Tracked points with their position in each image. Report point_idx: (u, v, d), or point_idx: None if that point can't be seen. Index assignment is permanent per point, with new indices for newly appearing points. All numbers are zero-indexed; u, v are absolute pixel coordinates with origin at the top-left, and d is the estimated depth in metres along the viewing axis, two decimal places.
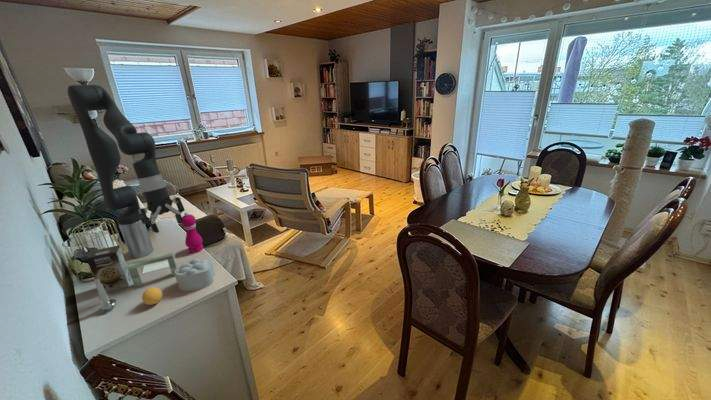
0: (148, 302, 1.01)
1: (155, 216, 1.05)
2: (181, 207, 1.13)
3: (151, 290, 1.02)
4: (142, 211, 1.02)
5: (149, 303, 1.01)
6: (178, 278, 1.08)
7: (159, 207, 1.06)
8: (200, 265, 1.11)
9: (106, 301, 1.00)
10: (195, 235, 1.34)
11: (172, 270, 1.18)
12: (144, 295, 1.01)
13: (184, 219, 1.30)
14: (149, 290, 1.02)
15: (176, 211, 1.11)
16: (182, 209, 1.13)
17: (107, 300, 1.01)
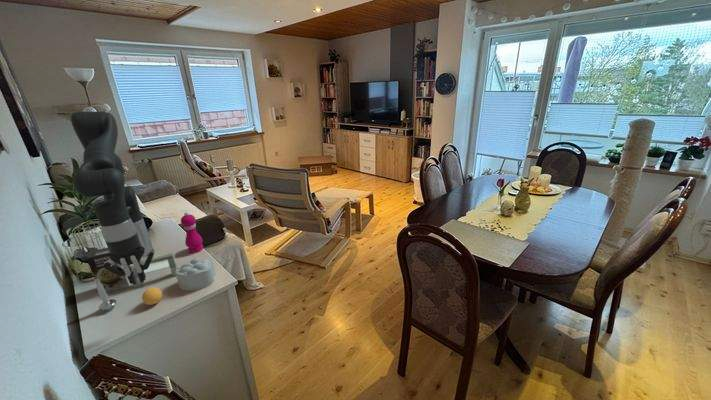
0: (148, 302, 1.01)
1: (125, 268, 0.87)
2: (146, 264, 0.90)
3: (151, 290, 1.02)
4: (105, 267, 0.85)
5: (149, 303, 1.01)
6: (179, 278, 1.09)
7: (122, 259, 0.86)
8: (201, 265, 1.11)
9: (106, 301, 1.00)
10: (195, 235, 1.34)
11: (172, 270, 1.18)
12: (144, 295, 1.01)
13: (184, 219, 1.30)
14: (149, 290, 1.02)
15: (138, 268, 0.89)
16: (145, 267, 0.90)
17: (107, 300, 1.01)
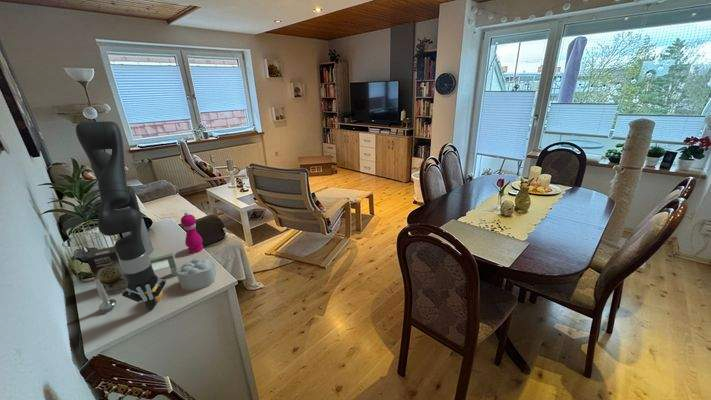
0: None
1: (142, 295, 0.97)
2: (157, 292, 0.99)
3: None
4: (125, 295, 0.95)
5: None
6: (180, 277, 1.09)
7: (138, 288, 0.95)
8: (202, 264, 1.11)
9: (106, 301, 1.00)
10: (195, 235, 1.34)
11: (172, 270, 1.18)
12: None
13: (184, 219, 1.30)
14: None
15: (150, 295, 0.99)
16: (155, 294, 0.99)
17: (107, 300, 1.01)
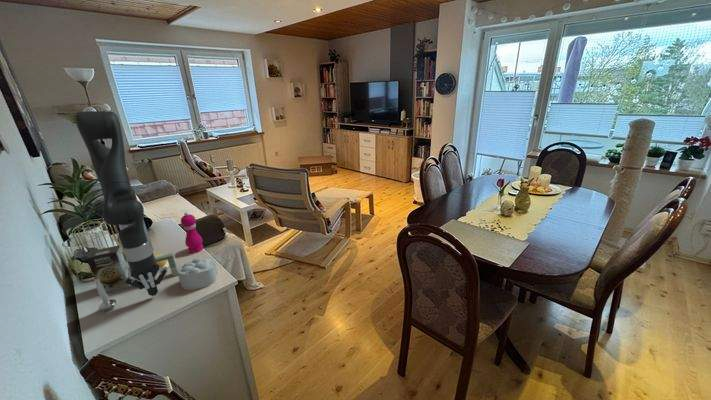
0: (154, 255, 1.24)
1: (144, 283, 1.02)
2: (159, 280, 1.04)
3: None
4: (128, 283, 1.00)
5: (154, 255, 1.24)
6: (181, 277, 1.09)
7: (140, 275, 1.00)
8: (202, 264, 1.12)
9: (106, 301, 1.00)
10: (195, 235, 1.34)
11: (172, 270, 1.18)
12: None
13: (184, 219, 1.30)
14: None
15: (152, 283, 1.04)
16: (157, 282, 1.04)
17: (107, 300, 1.01)
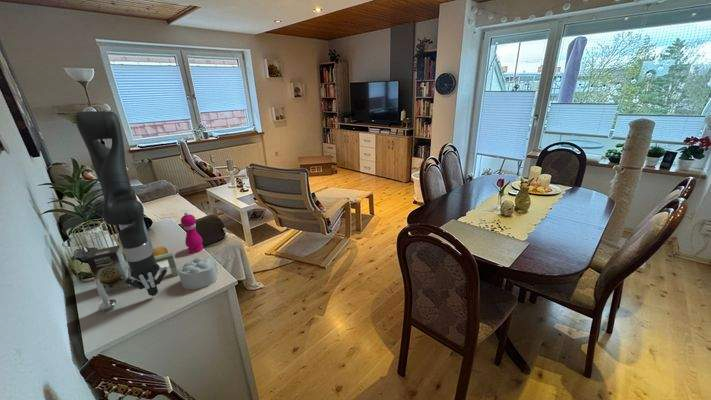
0: None
1: (144, 283, 1.02)
2: (159, 280, 1.04)
3: None
4: (128, 283, 1.00)
5: None
6: (182, 276, 1.09)
7: (140, 275, 1.00)
8: (203, 264, 1.12)
9: (106, 301, 1.00)
10: (195, 235, 1.34)
11: (172, 270, 1.18)
12: None
13: (184, 219, 1.30)
14: None
15: (152, 283, 1.04)
16: (157, 282, 1.04)
17: (107, 300, 1.01)
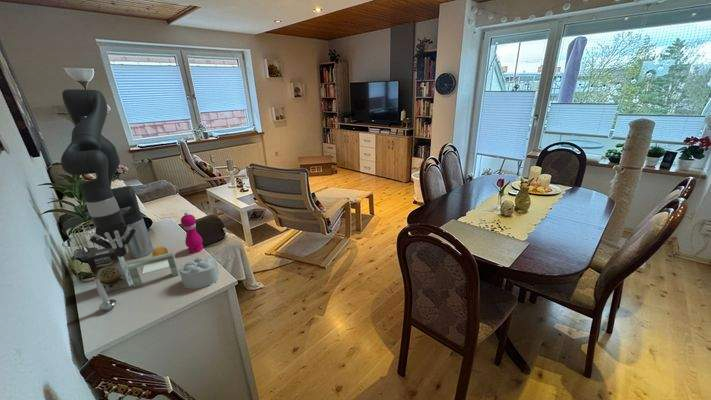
0: None
1: (111, 242, 0.96)
2: (127, 239, 0.99)
3: None
4: (92, 241, 0.94)
5: None
6: (183, 276, 1.10)
7: (106, 233, 0.94)
8: (204, 263, 1.12)
9: (106, 301, 1.00)
10: (195, 235, 1.34)
11: (172, 270, 1.18)
12: None
13: (184, 219, 1.30)
14: None
15: (119, 242, 0.98)
16: (125, 242, 0.98)
17: (107, 300, 1.01)
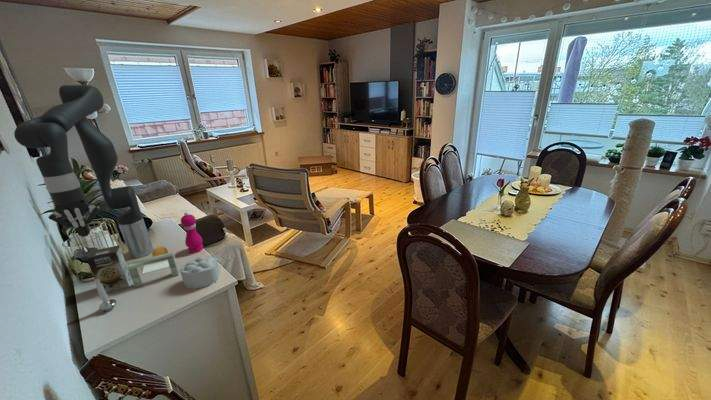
0: None
1: (71, 220, 0.93)
2: (89, 218, 0.95)
3: None
4: (51, 218, 0.90)
5: None
6: (184, 276, 1.10)
7: (66, 211, 0.91)
8: (205, 263, 1.12)
9: (106, 301, 1.00)
10: (195, 235, 1.34)
11: (172, 270, 1.18)
12: None
13: (184, 219, 1.30)
14: None
15: (81, 221, 0.94)
16: (87, 221, 0.95)
17: (107, 300, 1.01)
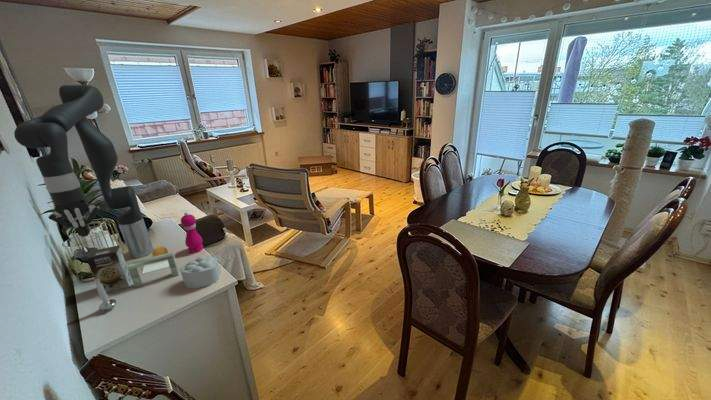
0: None
1: (71, 220, 0.93)
2: (89, 218, 0.95)
3: None
4: (51, 218, 0.90)
5: None
6: (184, 275, 1.10)
7: (66, 211, 0.91)
8: (206, 263, 1.12)
9: (106, 301, 1.00)
10: (195, 235, 1.34)
11: (172, 270, 1.18)
12: None
13: (184, 219, 1.30)
14: None
15: (81, 221, 0.94)
16: (87, 221, 0.95)
17: (107, 300, 1.01)
